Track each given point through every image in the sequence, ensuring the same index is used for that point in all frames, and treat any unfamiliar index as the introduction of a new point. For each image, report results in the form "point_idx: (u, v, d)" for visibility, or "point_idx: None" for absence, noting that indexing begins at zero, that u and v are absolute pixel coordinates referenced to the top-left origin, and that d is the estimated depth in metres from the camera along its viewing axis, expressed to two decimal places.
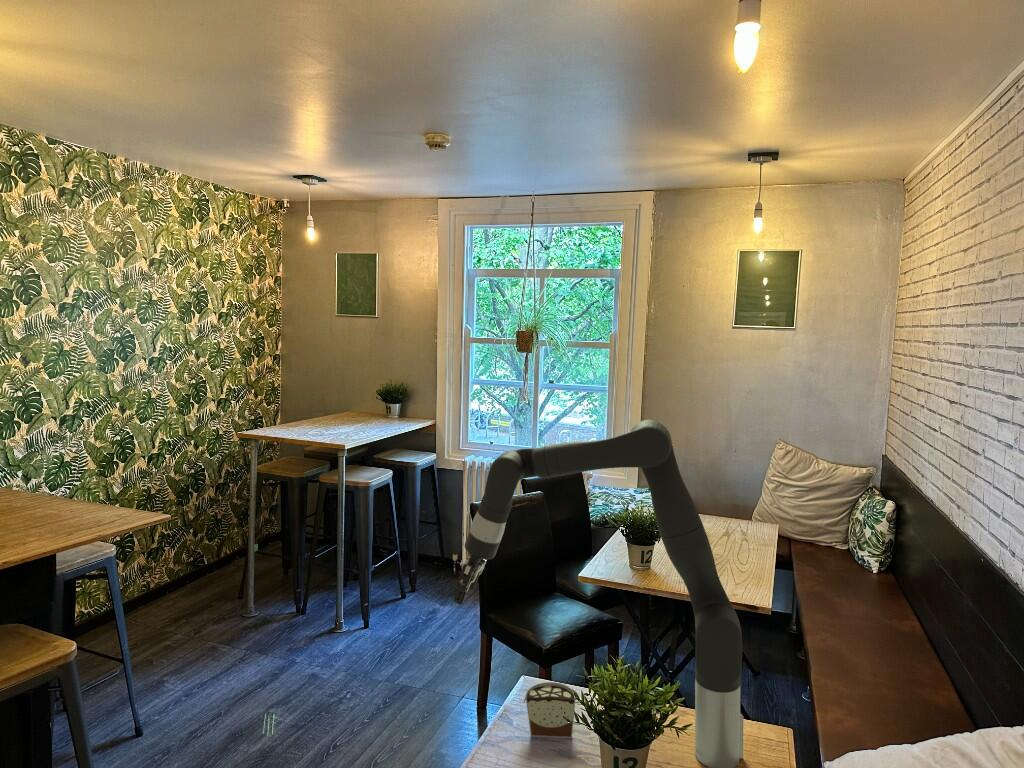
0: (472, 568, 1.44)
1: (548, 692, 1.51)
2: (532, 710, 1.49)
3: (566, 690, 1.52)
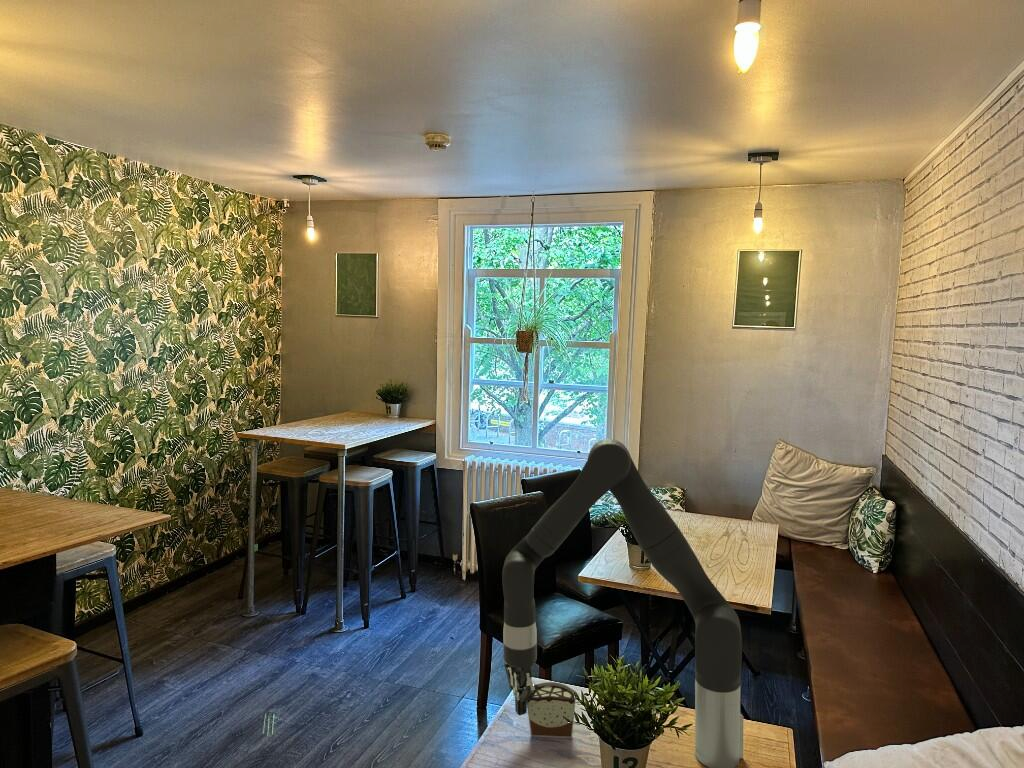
0: (536, 687, 1.43)
1: (548, 692, 1.51)
2: (532, 710, 1.49)
3: (566, 690, 1.52)
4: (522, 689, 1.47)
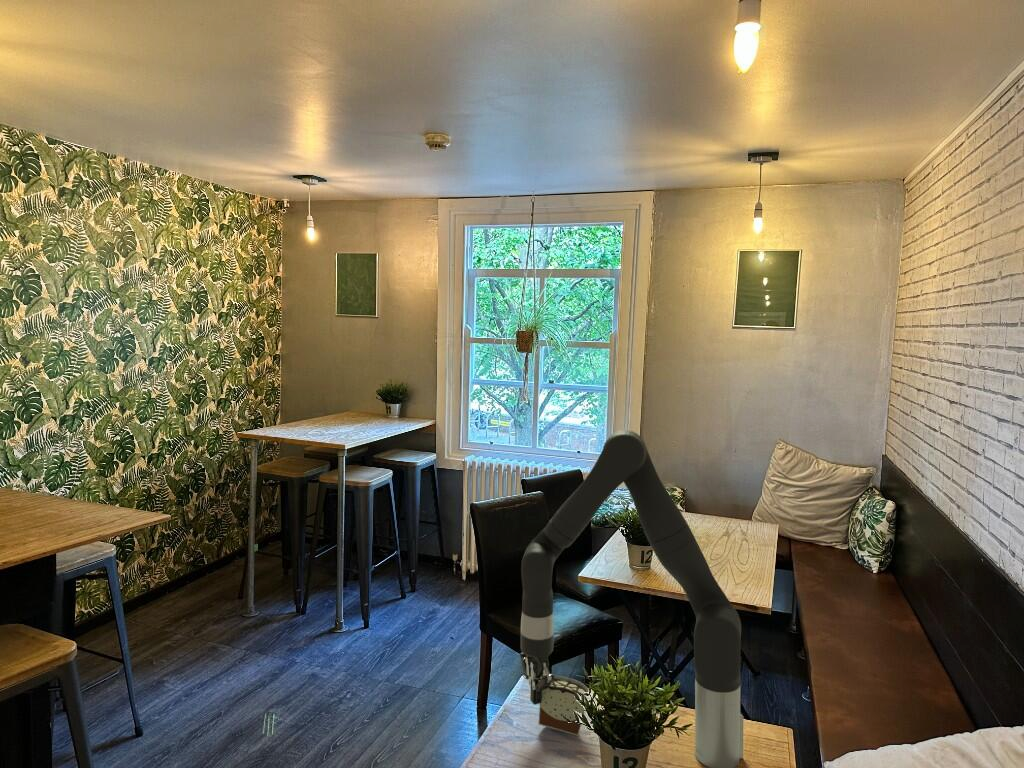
0: (553, 677, 1.45)
1: (564, 685, 1.53)
2: (544, 697, 1.51)
3: (581, 688, 1.53)
4: (538, 679, 1.48)
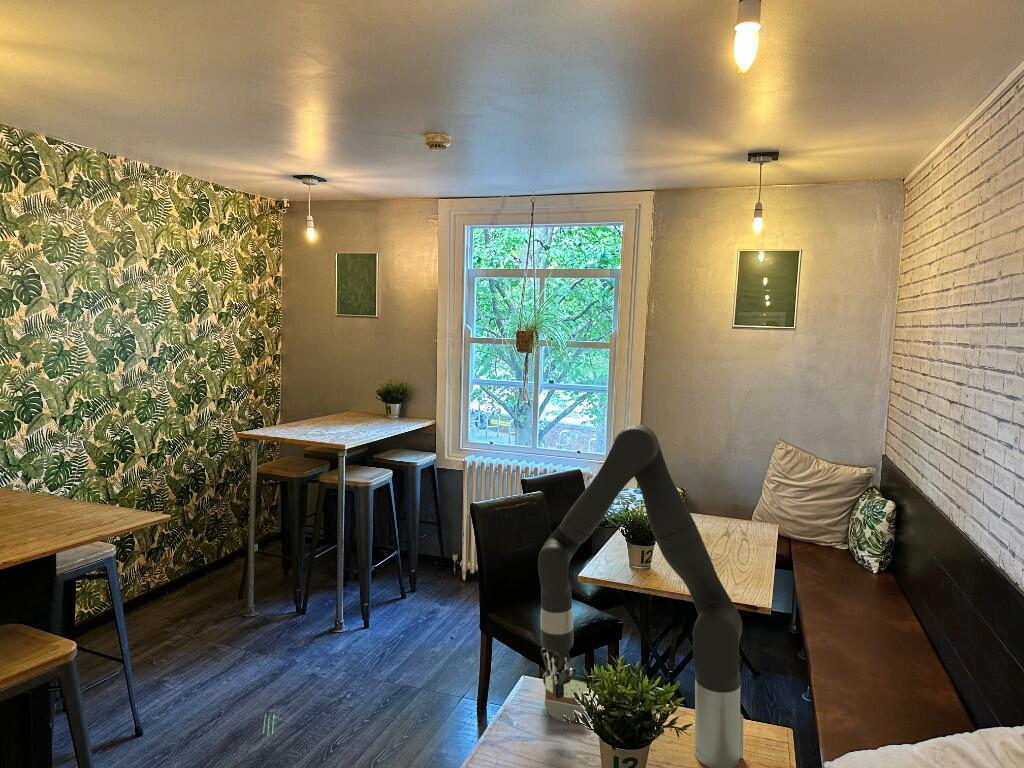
0: (574, 671, 1.47)
1: None
2: (549, 682, 1.61)
3: None
4: (560, 673, 1.50)
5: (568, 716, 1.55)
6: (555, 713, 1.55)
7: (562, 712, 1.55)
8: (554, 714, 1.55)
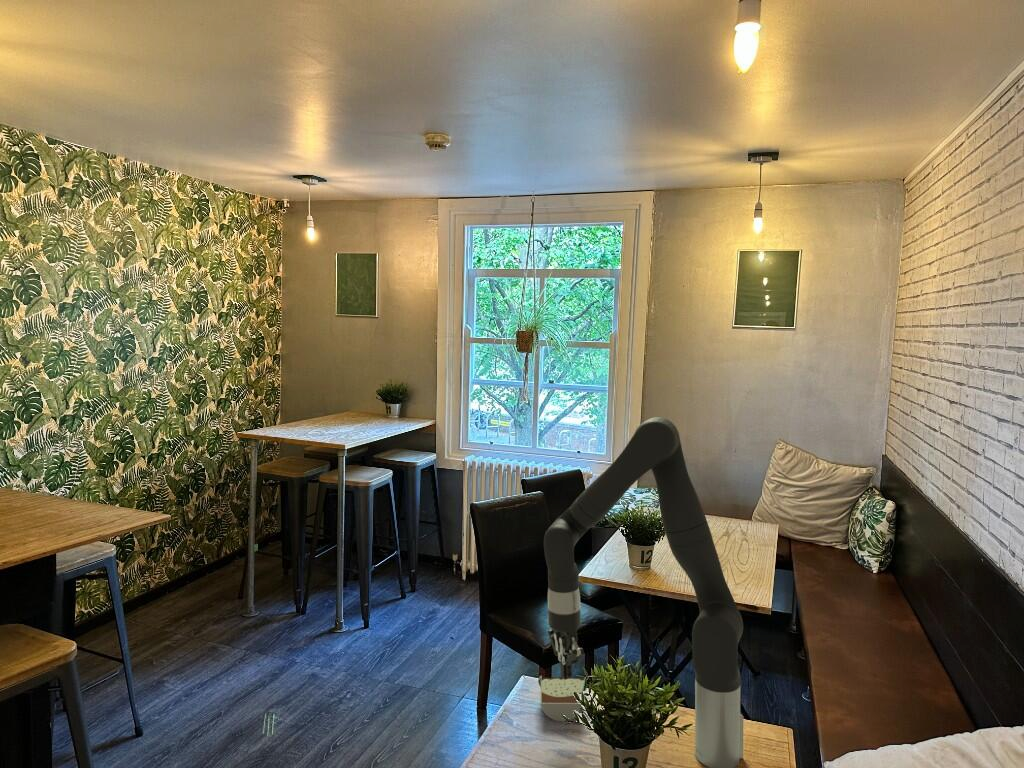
0: (582, 651, 1.47)
1: None
2: (545, 685, 1.61)
3: None
4: (567, 654, 1.51)
5: (567, 715, 1.55)
6: (554, 714, 1.55)
7: (560, 712, 1.55)
8: (553, 716, 1.55)
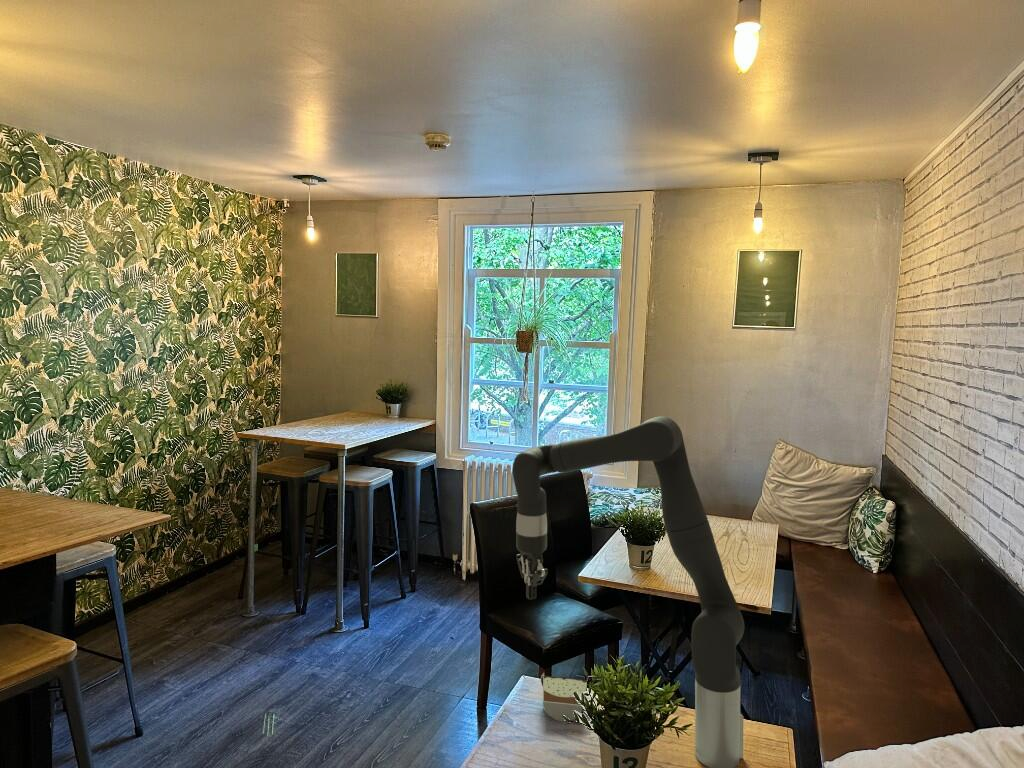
0: (546, 571, 1.55)
1: None
2: (547, 683, 1.61)
3: None
4: (533, 575, 1.59)
5: (567, 716, 1.55)
6: (554, 714, 1.55)
7: (561, 712, 1.55)
8: (553, 715, 1.55)
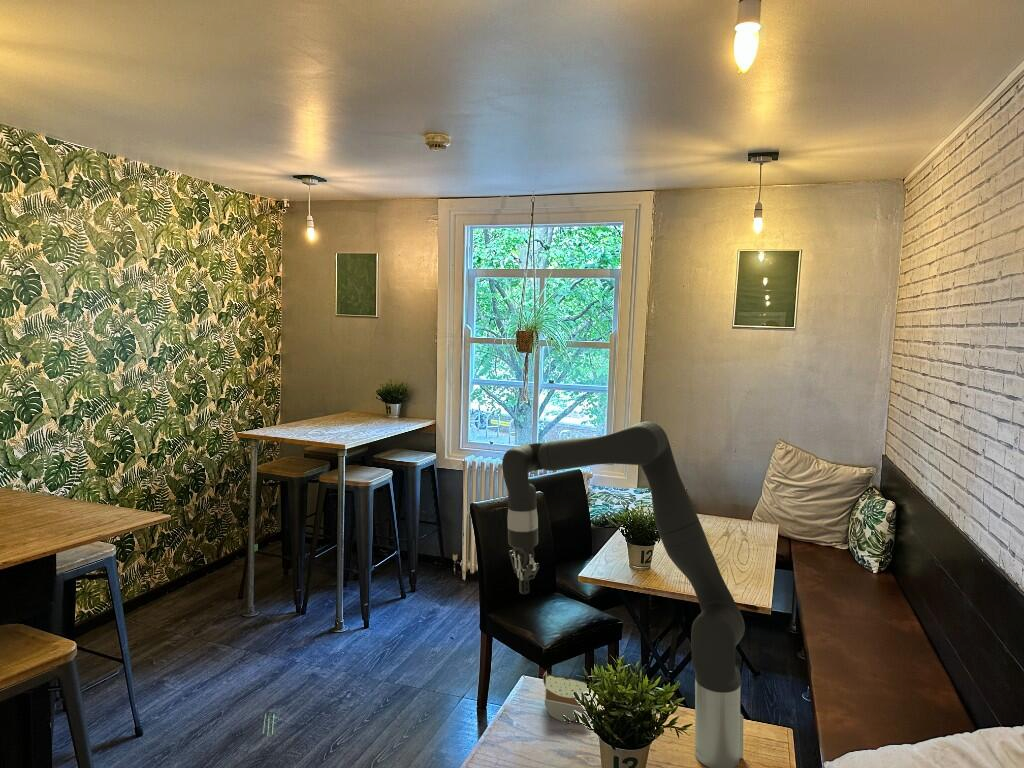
0: (538, 565, 1.58)
1: None
2: (550, 682, 1.61)
3: None
4: (525, 570, 1.62)
5: (568, 716, 1.55)
6: (555, 713, 1.55)
7: (562, 712, 1.55)
8: (554, 714, 1.55)
